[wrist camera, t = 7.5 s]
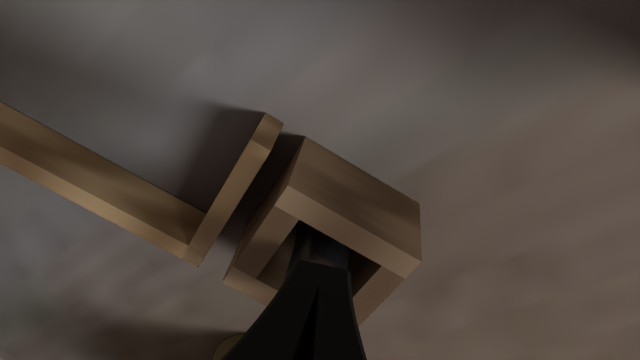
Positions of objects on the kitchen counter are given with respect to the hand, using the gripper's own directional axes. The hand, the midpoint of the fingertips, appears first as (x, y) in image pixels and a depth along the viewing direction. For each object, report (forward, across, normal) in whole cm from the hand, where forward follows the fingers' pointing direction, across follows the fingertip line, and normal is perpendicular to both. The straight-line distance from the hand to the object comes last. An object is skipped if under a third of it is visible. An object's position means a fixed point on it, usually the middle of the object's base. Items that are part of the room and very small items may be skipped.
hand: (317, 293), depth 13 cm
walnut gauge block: (+10, 0, +5) cm, 11 cm away
